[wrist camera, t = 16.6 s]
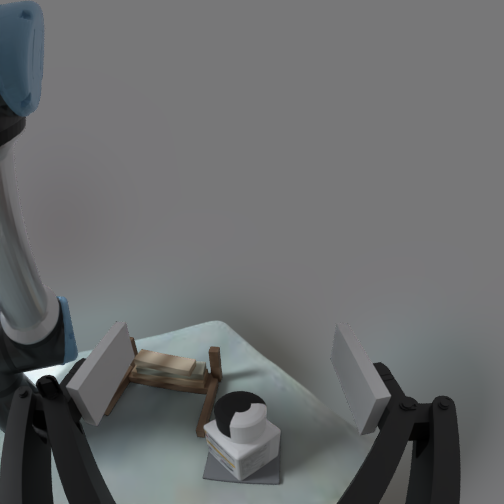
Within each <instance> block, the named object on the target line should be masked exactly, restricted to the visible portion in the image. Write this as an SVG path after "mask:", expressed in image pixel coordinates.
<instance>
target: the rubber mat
mask: <svg viewBox="0 0 504 504" xmlns="http://www.w3.org/2000/svg"><path fill="white" fill-rule="evenodd" d="M279 473H280V443H279V451H278V456H277V457H275V458H274V459H273V460H271V461H270V462H269V463H267V464H266V465H264V466H263V467H261V468H260V469H258V470H257V471H256V472H254V473H253V474H251V475H249V476H248V477H246V478H245V479H243V480H241V481H240V480H238V479H237V478H236V477H235V476H234V475H233V474H232V473H230V472H229V471H228V470H227V469H226V468H225V467H224V466H223V465H222V464H221V463H220V462H219V461H218V460H217V459H216V458H215V457H214V456H213V455H212V454H211V453H210V452H209V454H208V458H207V462H206V466H205V470H204V474H203V479H209V480H216V481H224V482H234V483H247V484H272V485H279Z"/></svg>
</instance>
